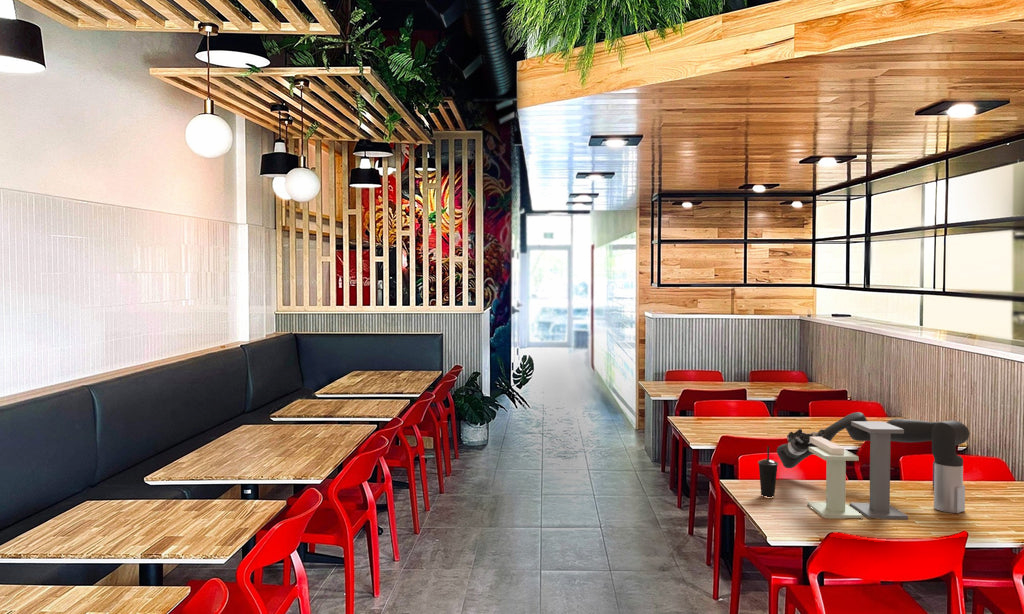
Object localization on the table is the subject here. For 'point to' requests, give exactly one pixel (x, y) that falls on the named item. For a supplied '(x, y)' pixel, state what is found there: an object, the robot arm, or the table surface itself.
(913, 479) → the table surface
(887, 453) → the high shelf
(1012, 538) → the table surface
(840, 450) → the pale pink beam
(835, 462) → the low shelf
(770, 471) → the drinking cup
